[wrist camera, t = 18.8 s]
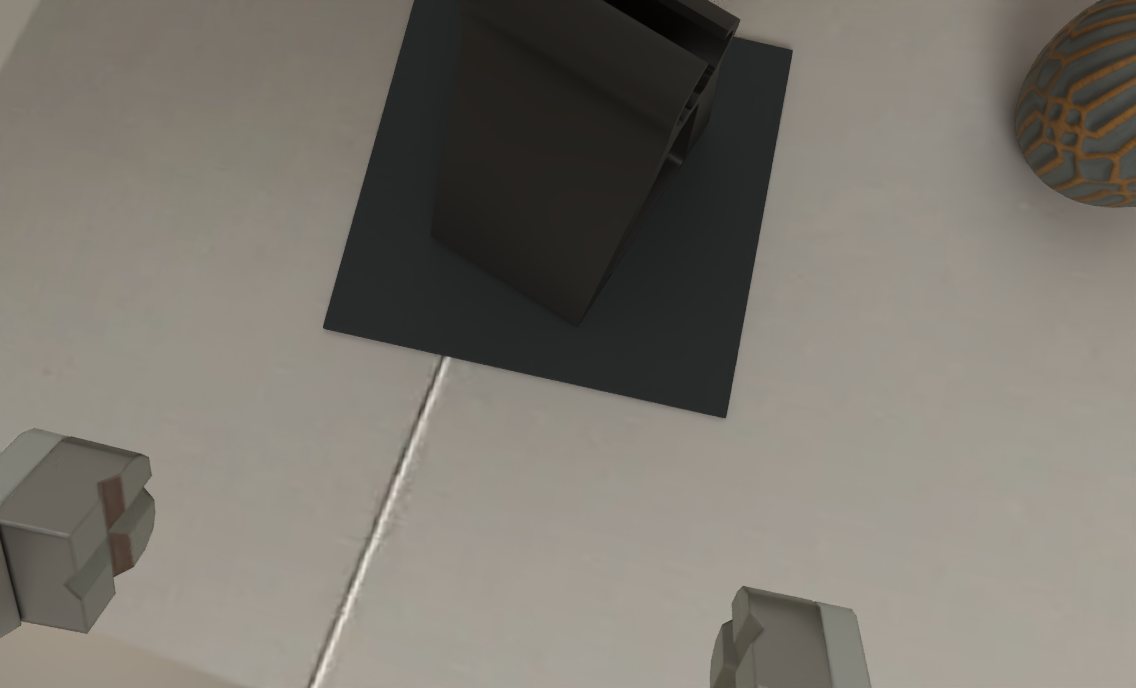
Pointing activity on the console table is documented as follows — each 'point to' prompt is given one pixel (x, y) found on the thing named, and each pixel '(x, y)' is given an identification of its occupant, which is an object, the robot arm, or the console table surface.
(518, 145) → the phone stand
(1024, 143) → the vase
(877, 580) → the console table surface
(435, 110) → the mat
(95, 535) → the robot arm
